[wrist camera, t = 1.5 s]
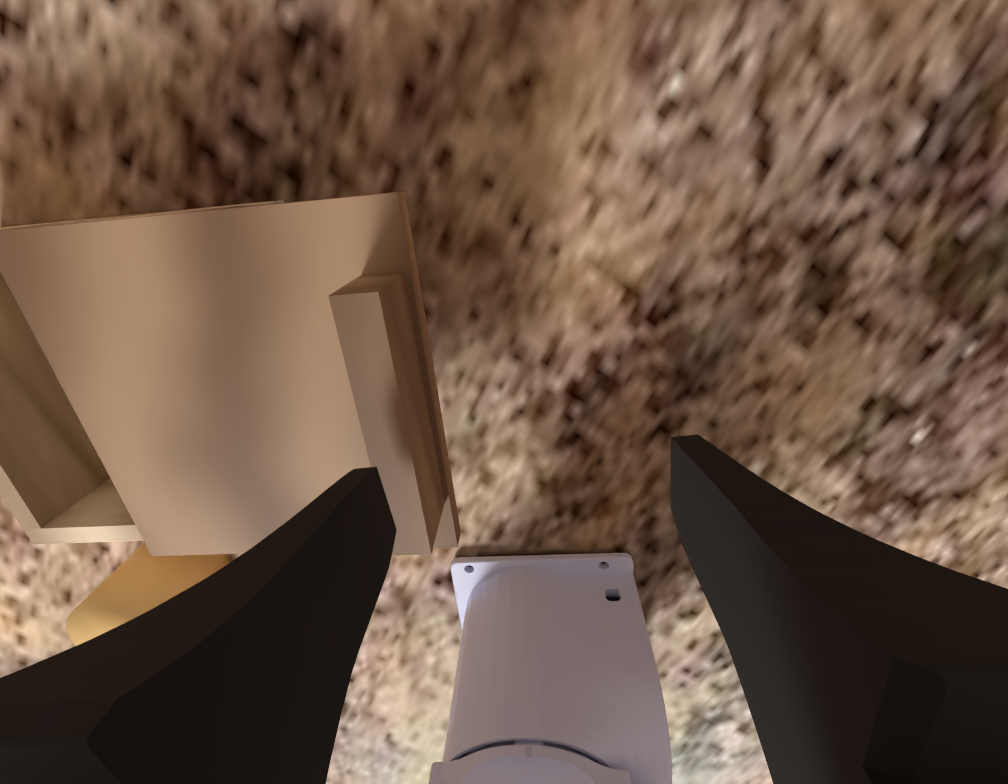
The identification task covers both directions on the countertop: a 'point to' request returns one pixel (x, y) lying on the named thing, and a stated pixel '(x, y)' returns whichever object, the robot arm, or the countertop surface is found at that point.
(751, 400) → the countertop surface
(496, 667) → the robot arm
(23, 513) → the wooden box
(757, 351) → the countertop surface
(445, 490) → the lid
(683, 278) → the countertop surface
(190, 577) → the cream bullet-shaped knob
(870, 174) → the countertop surface
